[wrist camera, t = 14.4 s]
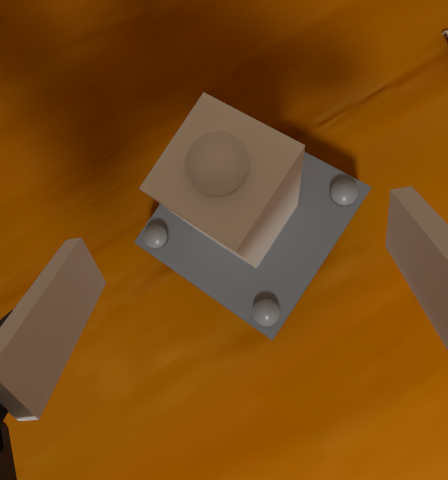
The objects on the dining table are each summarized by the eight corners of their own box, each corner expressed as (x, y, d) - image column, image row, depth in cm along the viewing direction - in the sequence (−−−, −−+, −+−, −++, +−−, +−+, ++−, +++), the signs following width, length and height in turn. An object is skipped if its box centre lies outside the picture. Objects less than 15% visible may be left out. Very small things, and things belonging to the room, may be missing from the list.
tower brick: (196, 229, 28) (131, 183, 16) (235, 169, 28) (199, 82, 16) (256, 268, 26) (233, 249, 15) (297, 205, 26) (306, 137, 15)
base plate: (152, 248, 32) (131, 241, 28) (231, 130, 33) (222, 104, 28) (274, 334, 29) (272, 341, 24) (360, 201, 29) (373, 184, 25)
